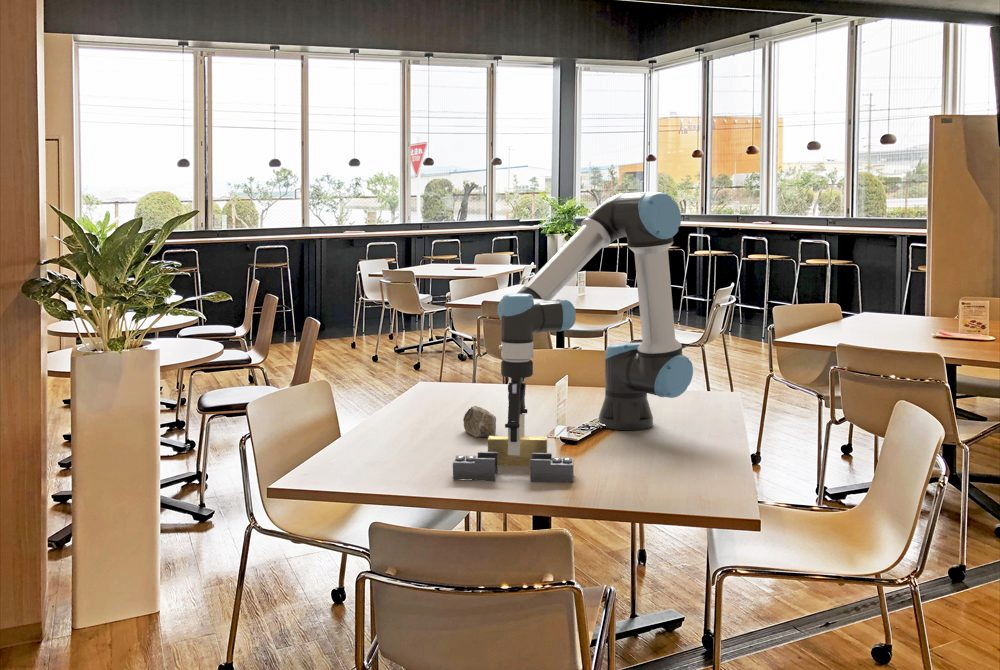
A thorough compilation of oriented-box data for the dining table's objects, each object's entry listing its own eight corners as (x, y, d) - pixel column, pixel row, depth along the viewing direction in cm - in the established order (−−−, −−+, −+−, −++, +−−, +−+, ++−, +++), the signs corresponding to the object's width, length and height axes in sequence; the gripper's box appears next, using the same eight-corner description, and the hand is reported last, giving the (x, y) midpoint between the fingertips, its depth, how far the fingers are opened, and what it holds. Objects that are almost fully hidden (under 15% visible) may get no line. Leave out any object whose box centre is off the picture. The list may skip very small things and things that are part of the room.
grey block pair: (573, 474, 205) (573, 453, 204) (572, 482, 199) (573, 460, 198) (457, 472, 207) (456, 451, 207) (453, 479, 202) (452, 458, 201)
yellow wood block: (547, 463, 215) (547, 436, 214) (546, 466, 212) (546, 440, 211) (489, 462, 216) (489, 435, 215) (488, 465, 213) (487, 439, 212)
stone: (481, 439, 236) (481, 413, 235) (457, 430, 246) (458, 405, 245) (503, 437, 239) (504, 411, 239) (480, 428, 250) (480, 403, 249)
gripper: (506, 351, 223) (505, 434, 226) (495, 367, 198) (495, 460, 201) (536, 351, 222) (535, 435, 225) (529, 368, 198) (528, 461, 200)
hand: (516, 447), depth 213 cm, fingers open, 13 cm apart
